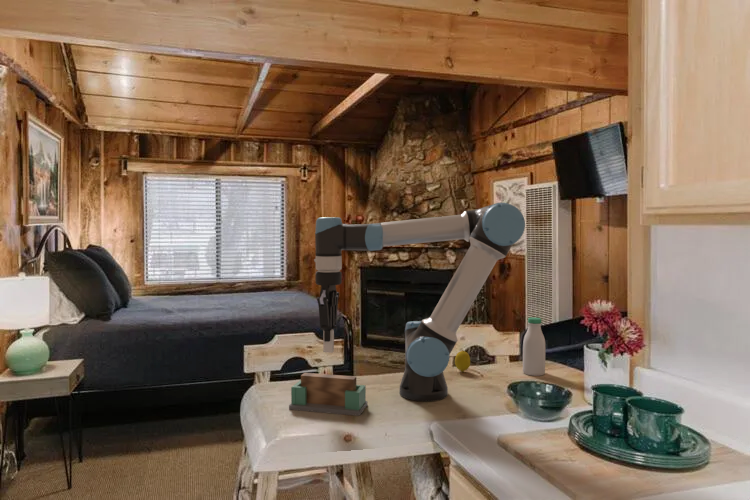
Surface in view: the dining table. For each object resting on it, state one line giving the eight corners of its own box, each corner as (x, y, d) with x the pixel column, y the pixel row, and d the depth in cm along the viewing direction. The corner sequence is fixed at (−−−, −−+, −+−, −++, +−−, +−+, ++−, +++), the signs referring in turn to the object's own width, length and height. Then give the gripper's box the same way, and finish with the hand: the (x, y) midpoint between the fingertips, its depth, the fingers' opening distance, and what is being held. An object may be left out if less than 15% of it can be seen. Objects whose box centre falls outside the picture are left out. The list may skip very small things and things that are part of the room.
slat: (356, 403, 154) (356, 376, 153) (353, 407, 151) (353, 379, 150) (304, 399, 158) (304, 372, 157) (301, 402, 155) (300, 375, 154)
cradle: (367, 405, 156) (367, 384, 156) (359, 415, 147) (359, 393, 147) (300, 399, 161) (300, 379, 161) (289, 409, 152) (289, 388, 152)
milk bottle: (547, 376, 186) (548, 320, 185) (525, 376, 186) (526, 320, 186) (541, 370, 194) (542, 316, 193) (520, 370, 194) (521, 316, 193)
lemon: (451, 372, 191) (452, 350, 191) (460, 369, 195) (460, 347, 195) (464, 375, 188) (465, 352, 187) (473, 372, 192) (473, 350, 191)
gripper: (323, 268, 160) (323, 345, 161) (308, 272, 147) (308, 356, 148) (347, 269, 158) (347, 347, 159) (333, 273, 145) (333, 358, 146)
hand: (328, 351), depth 153 cm, fingers closed
